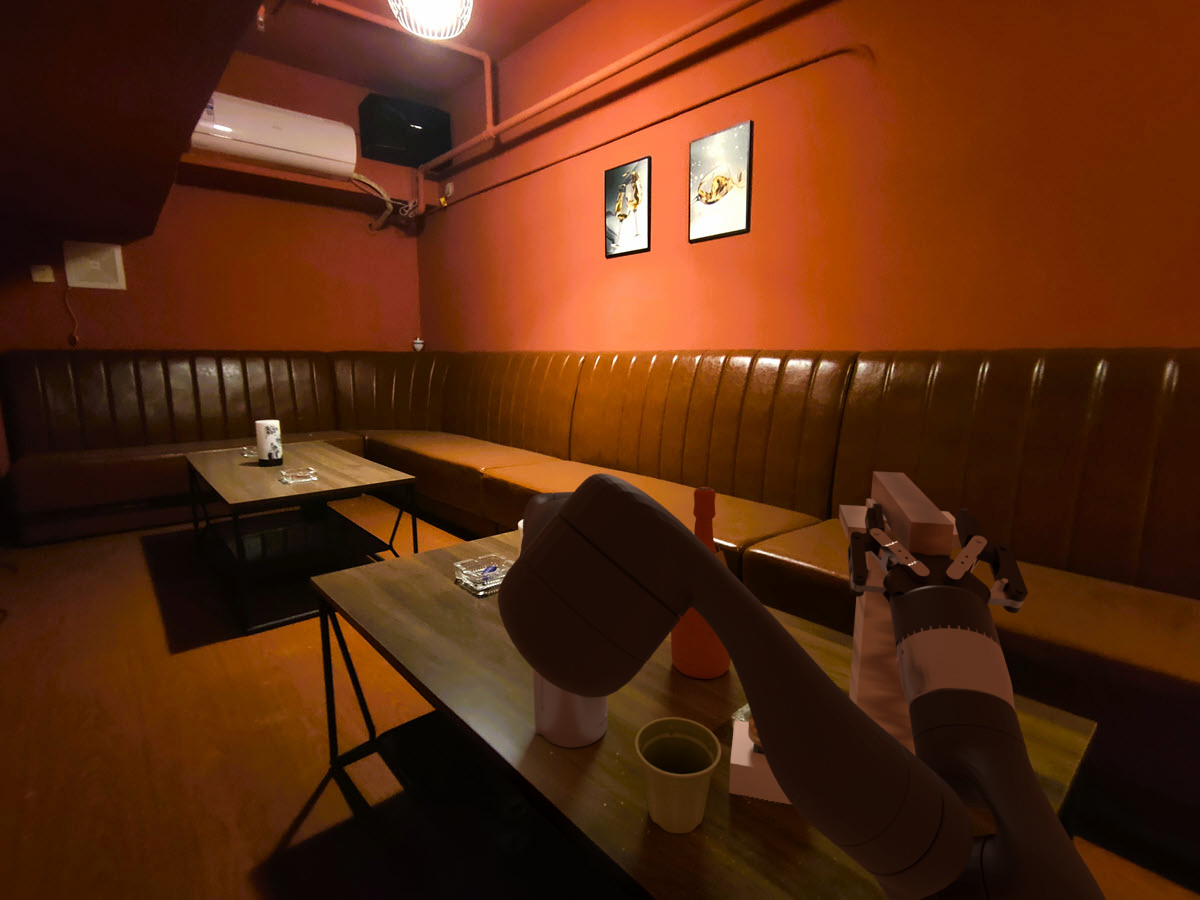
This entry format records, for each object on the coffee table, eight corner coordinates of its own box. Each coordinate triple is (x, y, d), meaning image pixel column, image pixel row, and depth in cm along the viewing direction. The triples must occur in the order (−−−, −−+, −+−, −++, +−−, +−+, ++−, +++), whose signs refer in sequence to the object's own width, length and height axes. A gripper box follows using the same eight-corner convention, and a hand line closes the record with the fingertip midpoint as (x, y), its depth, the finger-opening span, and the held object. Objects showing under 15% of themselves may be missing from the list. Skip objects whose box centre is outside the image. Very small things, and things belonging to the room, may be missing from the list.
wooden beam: (908, 557, 54) (911, 521, 54) (871, 497, 75) (873, 471, 74) (950, 561, 53) (954, 524, 53) (900, 499, 74) (903, 472, 73)
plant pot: (708, 780, 70) (710, 715, 68) (728, 846, 61) (730, 774, 59) (631, 782, 70) (631, 718, 68) (639, 850, 60) (639, 777, 59)
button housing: (729, 793, 68) (730, 762, 67) (733, 747, 75) (734, 720, 75) (801, 807, 66) (803, 776, 65) (798, 759, 73) (800, 731, 72)
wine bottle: (685, 687, 89) (688, 498, 83) (661, 654, 98) (663, 482, 93) (742, 677, 91) (749, 492, 86) (714, 646, 101) (719, 478, 95)
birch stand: (830, 782, 69) (849, 517, 63) (824, 734, 78) (840, 497, 72) (942, 803, 66) (973, 526, 60) (923, 751, 74) (949, 503, 68)
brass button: (746, 763, 69) (747, 729, 68) (748, 739, 73) (749, 707, 72) (785, 771, 67) (787, 736, 67) (784, 746, 71) (786, 713, 71)
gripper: (1070, 645, 43) (1009, 489, 54) (859, 620, 47) (845, 480, 58) (1037, 695, 47) (987, 542, 59) (848, 669, 51) (837, 530, 63)
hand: (917, 511), depth 59 cm, fingers open, 7 cm apart
